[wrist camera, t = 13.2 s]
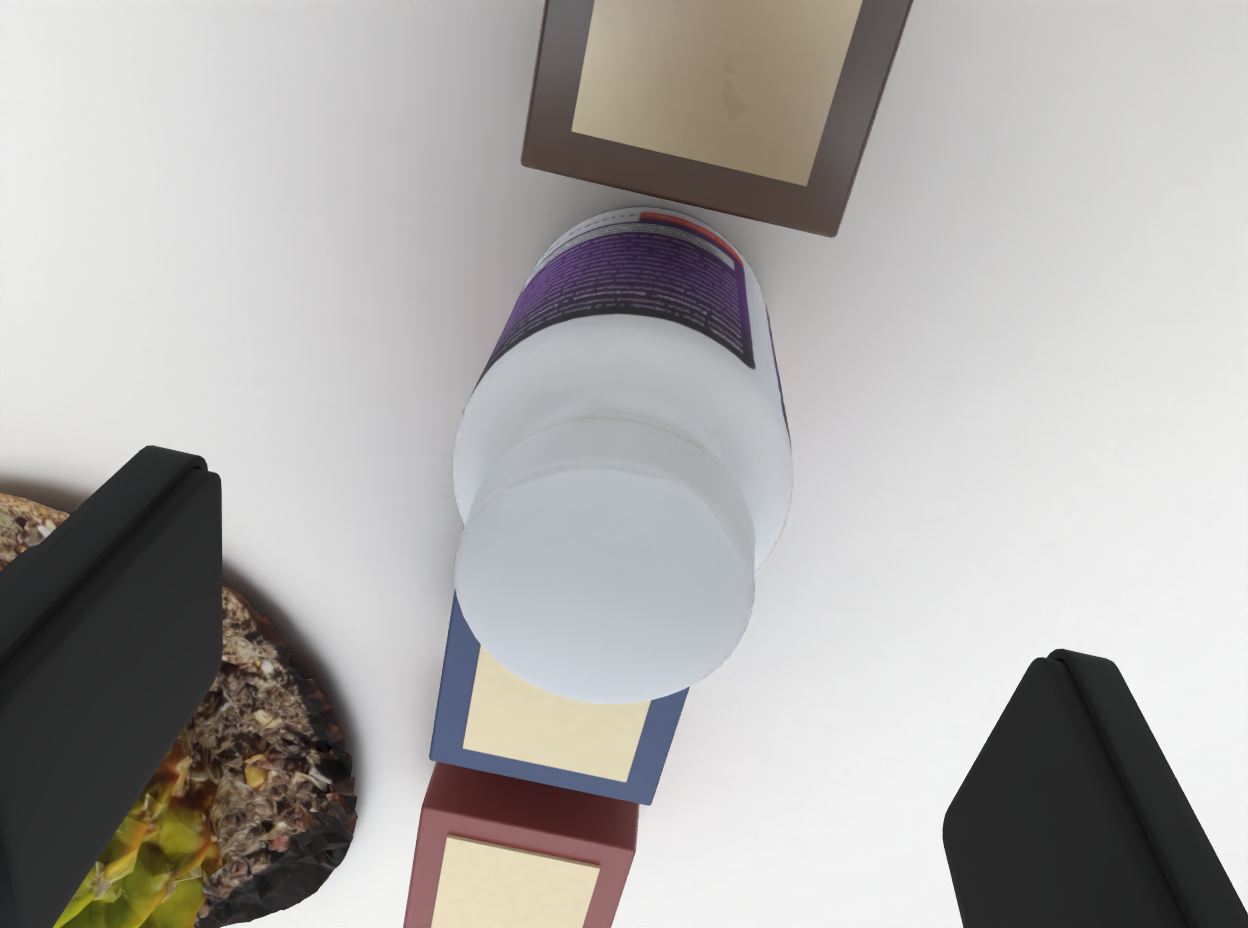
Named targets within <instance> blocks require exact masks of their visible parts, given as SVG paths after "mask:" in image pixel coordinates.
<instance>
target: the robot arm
mask: <svg viewBox="0 0 1248 928" xmlns="http://www.w3.org/2000/svg"><path fill="white" fill-rule="evenodd" d="M222 655H223V610H222V492H221V479H220V477H219V475H218V474H217V473H214V472H209V471H208V468H207V464H206V461H205V459H204V458H202V457H201V456H198V455H193V454H189V453H184V452H180V451H175V450H171V449H166V448H162V447H157V446H153V445H152V446H146V447H145V448H143V449H142V450H140V451H139V452H138V453H137V454H136V455H135V456H134V457H133V458H132V459H130V460H129V461H128V462H127V463H126V464H125V465H124V466H123V467H122V468H121V469H120V470H119V471H118V472H116V473H115V474H114V475H113V476H112V477H111V478H110V479H109V480H108V481H107V482H106V483H105V484H103V485H102V486H101V487H100V488H99V489H98V490H97V491H96V492H95V493H94V494H93V495H92V496H90V497H89V498H88V499H87V500H86V501H85V502H84V503H83V504H82V505H81V506H80V507H79V508H78V509H76V510H75V511H74V512H73V513H72V514H71V515H70V516H69V517H68V518H67V519H66V520H65V521H63V522H62V523H61V524H60V525H59V526H58V527H57V528H56V529H55V530H54V531H53V532H52V533H50V534H49V535H48V536H47V537H46V538H45V539H44V540H43V541H42V542H41V543H40V544H38V545H34V546H30V547H29V548H27V549H26V550H25V551H23V552H22V553H20V554H19V555H18V556H16V557H15V558H14V559H13V560H12V561H11V562H10V563H9V564H8V565H7V566H5V567H4V568H3V569H2V570H1V571H0V928H53V927H54V925H55V923H56V922H57V920H58V919H59V917H60V916H61V914H62V913H63V911H64V910H65V908H66V907H67V905H68V904H69V902H70V901H71V899H72V898H73V896H74V895H75V893H76V892H77V890H78V889H79V887H80V886H81V884H82V882H83V881H84V879H85V878H86V876H87V875H88V873H89V872H90V870H91V869H92V867H93V866H94V864H95V863H96V861H97V860H98V858H99V857H100V855H101V854H102V852H103V851H104V849H105V848H106V846H107V845H108V843H109V841H110V840H111V838H112V837H113V835H114V834H115V832H116V831H117V829H118V828H119V826H120V825H121V823H122V822H123V820H124V819H125V817H126V816H127V814H128V813H129V811H130V810H131V808H132V807H133V805H134V803H135V802H136V800H137V799H138V797H139V796H140V794H141V793H142V791H143V790H144V788H145V787H146V785H147V784H148V782H149V781H150V779H151V778H152V776H153V775H154V773H155V772H156V770H157V769H158V767H159V766H160V764H161V762H162V761H163V759H164V758H165V756H166V755H167V753H168V752H169V750H170V749H171V747H172V746H173V744H174V743H175V741H176V740H177V738H178V737H179V735H180V734H181V732H182V731H183V729H184V728H185V726H186V725H187V723H188V721H189V720H190V718H191V717H192V715H193V714H194V712H195V711H196V709H197V708H198V706H199V705H200V703H201V702H202V700H203V699H204V697H205V696H206V694H207V693H208V691H209V690H210V688H211V687H212V685H213V683H214V681H215V679H216V677H217V675H218V672H219V669H220V666H221V661H222ZM943 843H944V848H945V852H946V856H947V861H948V865H949V869H950V873H951V877H952V881H953V886H954V890H955V894H956V898H957V902H958V906H959V911H960V915H961V919H962V923H963V927H964V928H1248V914H1247V912H1246V910H1245V908H1244V906H1243V904H1242V902H1241V900H1240V898H1239V896H1238V895H1237V893H1236V891H1235V889H1234V887H1233V885H1232V883H1231V881H1230V879H1229V878H1228V876H1227V874H1226V872H1225V870H1224V868H1223V866H1222V864H1221V862H1220V860H1219V859H1218V857H1217V855H1216V853H1215V851H1214V849H1213V847H1212V845H1211V843H1210V841H1209V840H1208V838H1207V836H1206V834H1205V832H1204V830H1203V828H1202V826H1201V824H1200V823H1199V821H1198V819H1197V817H1196V815H1195V813H1194V811H1193V809H1192V807H1191V805H1190V804H1189V802H1188V800H1187V798H1186V796H1185V794H1184V792H1183V790H1182V788H1181V787H1180V785H1179V783H1178V781H1177V779H1176V777H1175V775H1174V773H1173V771H1172V769H1171V768H1170V766H1169V764H1168V762H1167V760H1166V758H1165V756H1164V754H1163V752H1162V750H1161V749H1160V747H1159V745H1158V743H1157V741H1156V739H1155V737H1154V735H1153V733H1152V732H1151V730H1150V728H1149V726H1148V724H1147V722H1146V720H1145V718H1144V716H1143V714H1142V713H1141V711H1140V709H1139V707H1138V705H1137V703H1136V701H1135V699H1134V697H1133V695H1132V694H1131V692H1130V690H1129V688H1128V686H1127V684H1126V682H1125V680H1124V678H1123V677H1122V675H1121V673H1120V671H1119V669H1118V668H1117V666H1116V665H1115V664H1114V662H1112V661H1110V660H1108V659H1106V658H1101V657H1097V656H1092V655H1088V654H1083V653H1079V652H1074V651H1070V650H1065V649H1056V650H1054V651H1053V652H1051V653H1050V654H1049V655H1048V657H1047V658H1043V657H1040V658H1036V659H1035V660H1034V661H1033V662H1032V663H1031V664H1030V666H1029V667H1028V669H1027V671H1026V673H1025V674H1024V676H1023V678H1022V680H1021V681H1020V683H1019V685H1018V687H1017V688H1016V690H1015V692H1014V694H1013V695H1012V697H1011V699H1010V701H1009V702H1008V704H1007V706H1006V708H1005V709H1004V711H1003V713H1002V715H1001V716H1000V718H999V720H998V722H997V723H996V725H995V727H994V729H993V731H992V732H991V734H990V736H989V738H988V739H987V741H986V743H985V745H984V746H983V748H982V750H981V752H980V753H979V755H978V757H977V759H976V760H975V762H974V764H973V766H972V767H971V769H970V771H969V773H968V774H967V776H966V778H965V780H964V781H963V783H962V785H961V787H960V788H959V790H958V792H957V794H956V795H955V797H954V799H953V801H952V802H951V804H950V806H949V808H948V810H947V812H946V814H945V818H944V822H943Z"/></svg>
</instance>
